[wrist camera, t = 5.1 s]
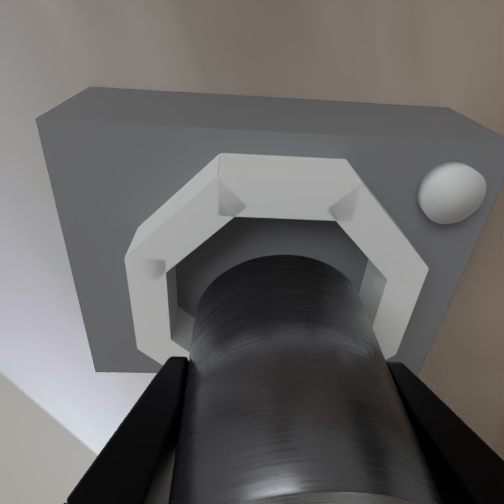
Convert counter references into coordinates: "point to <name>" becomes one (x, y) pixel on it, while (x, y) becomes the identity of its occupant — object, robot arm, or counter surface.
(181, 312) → the camera body
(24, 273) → the counter surface
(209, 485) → the lens
